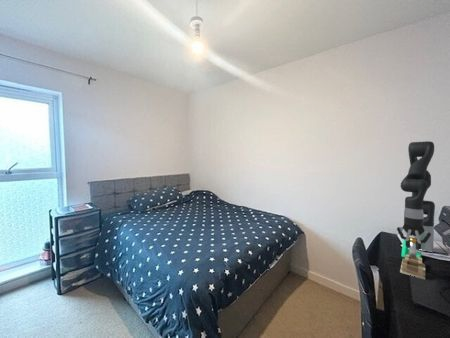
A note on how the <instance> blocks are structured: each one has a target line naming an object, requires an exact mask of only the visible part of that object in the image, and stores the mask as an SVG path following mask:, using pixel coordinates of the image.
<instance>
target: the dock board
mask: <svg viewBox="0 0 450 338" xmlns="http://www.w3.org/2000/svg"><path fill="white" fill-rule="evenodd" d="M399 273H401V274H404V275H407V276H410V275H411V277H414V276H415V277H414V278H417V279H422V280H426V264H425V263H423V258H422V257H421V258H419V257H417V258H411V257H409V255H406V256H405V257H404V258H402V261H401V265H400V270H399Z"/></svg>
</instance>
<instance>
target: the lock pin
mask: <svg viewBox="0 0 450 338" xmlns="http://www.w3.org/2000/svg"><path fill="white" fill-rule="evenodd" d="M417 242H418V241H417V239H416V238H414V236H413V237H411V236H410V237H409V248H408V249H409V257H411V258H417V252H418V250H417Z"/></svg>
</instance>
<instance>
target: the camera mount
mask: <svg viewBox="0 0 450 338" xmlns="http://www.w3.org/2000/svg"><path fill="white" fill-rule="evenodd" d="M400 254H401V255H400V256H401V257H402V258H405V256H406V255H409V248H407V246H406V241H405V240H404V239H402V247H401V253H400ZM417 257H419V258H422V251H417Z"/></svg>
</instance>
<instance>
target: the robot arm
mask: <svg viewBox="0 0 450 338" xmlns="http://www.w3.org/2000/svg"><path fill="white" fill-rule="evenodd" d="M407 148H408V156H409V157H408V159H409V164H410V166H409V168H408V172H407V174H406V176H405V177H404V178H403V179H402V180H401V183H400V189H401V190H402V191H404V193H405V192H406V193H411V196H406V197H405V199H404V210H403V225H402V226H398V227H397V228H396V231H397V233H398V234H399V236H400V238H401V239H402V240H405V241H406V246H407V248H408V249H409V237H411V236H413V238H416V239H417V241H418V242H417V251H419V249H422V250H425V251H433V252H434V245H435V243H434V241H435V240H434V238H435V237H434V236H435V234H434V233H435V209H436V203H435V202H434V201H432V200H425V199H424V198H425V197H426V194H427V191H428V189H429V188H430V187H431V185H432V175H431V173H430V172H429V170H427V169H428V166H429V165H430V162H431V161H432V158H433V156H434V153H435V143H434V142H433V141H431V140H430V141H428V140H427V141H426V140H425V141H412V142H410V143H409V144H408V147H407ZM418 158H419V159H418ZM425 215H426V216H425ZM424 216H425V217H424ZM403 230H404V232H405V234H406V236H405V235H404V233H403Z"/></svg>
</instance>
